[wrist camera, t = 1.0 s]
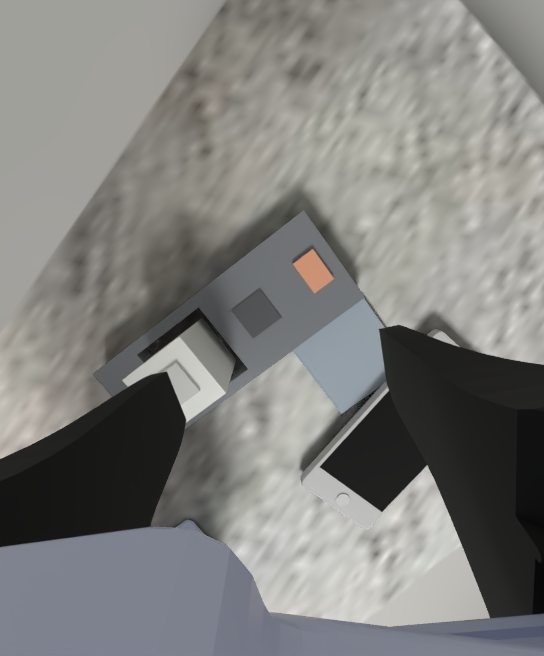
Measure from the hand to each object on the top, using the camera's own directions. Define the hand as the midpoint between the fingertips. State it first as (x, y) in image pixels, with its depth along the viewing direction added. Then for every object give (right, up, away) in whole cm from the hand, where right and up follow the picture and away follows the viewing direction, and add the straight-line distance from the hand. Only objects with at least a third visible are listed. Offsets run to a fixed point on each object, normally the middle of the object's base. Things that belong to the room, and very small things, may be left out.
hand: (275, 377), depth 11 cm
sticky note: (+6, -1, +15) cm, 16 cm away
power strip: (-3, +1, +14) cm, 14 cm away
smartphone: (+10, -6, +16) cm, 19 cm away
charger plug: (-6, 0, +14) cm, 15 cm away
